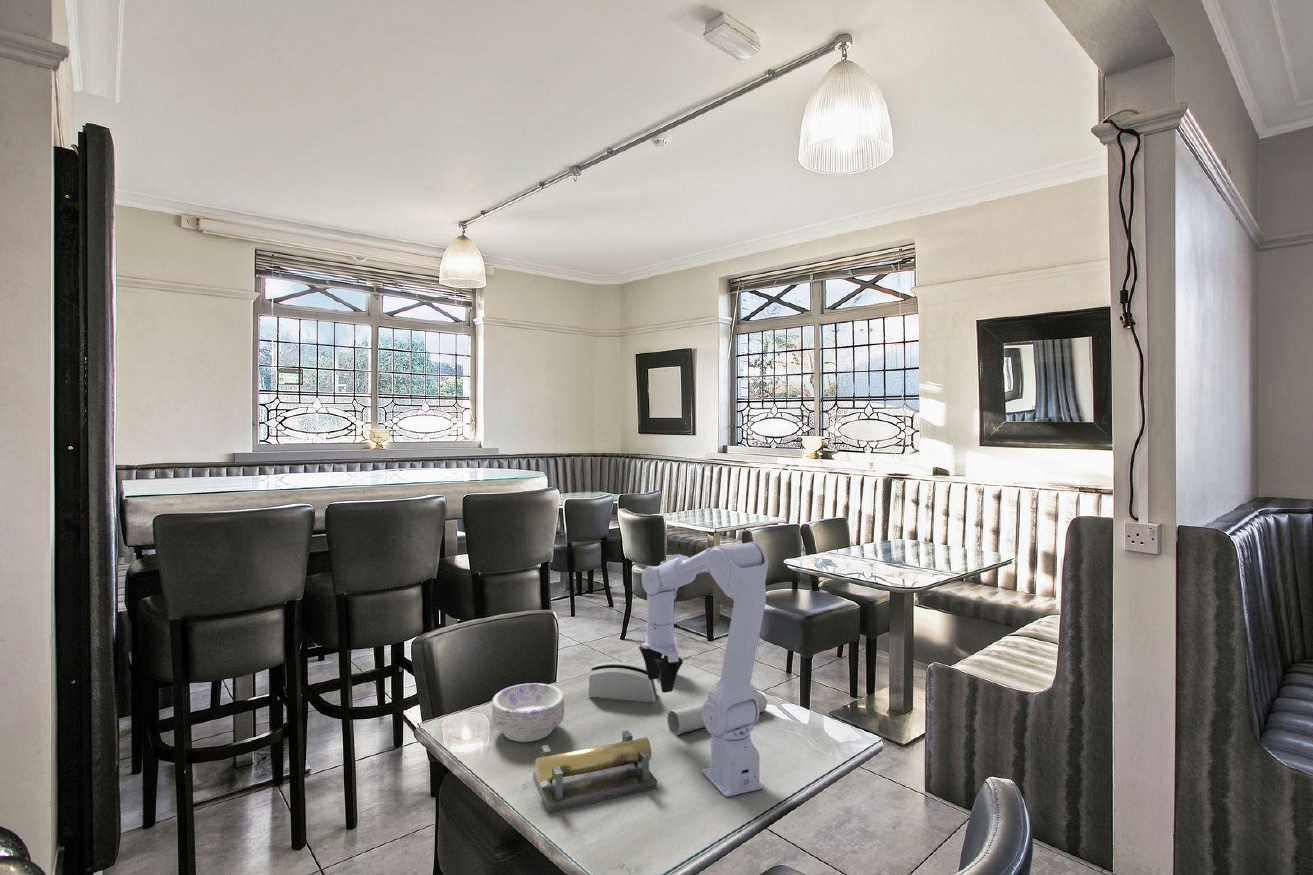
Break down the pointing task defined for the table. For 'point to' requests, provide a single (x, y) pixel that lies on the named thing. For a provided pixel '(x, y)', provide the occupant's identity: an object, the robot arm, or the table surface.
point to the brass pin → (591, 759)
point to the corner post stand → (595, 782)
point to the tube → (696, 717)
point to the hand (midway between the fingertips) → (660, 685)
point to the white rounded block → (621, 682)
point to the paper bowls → (527, 711)
